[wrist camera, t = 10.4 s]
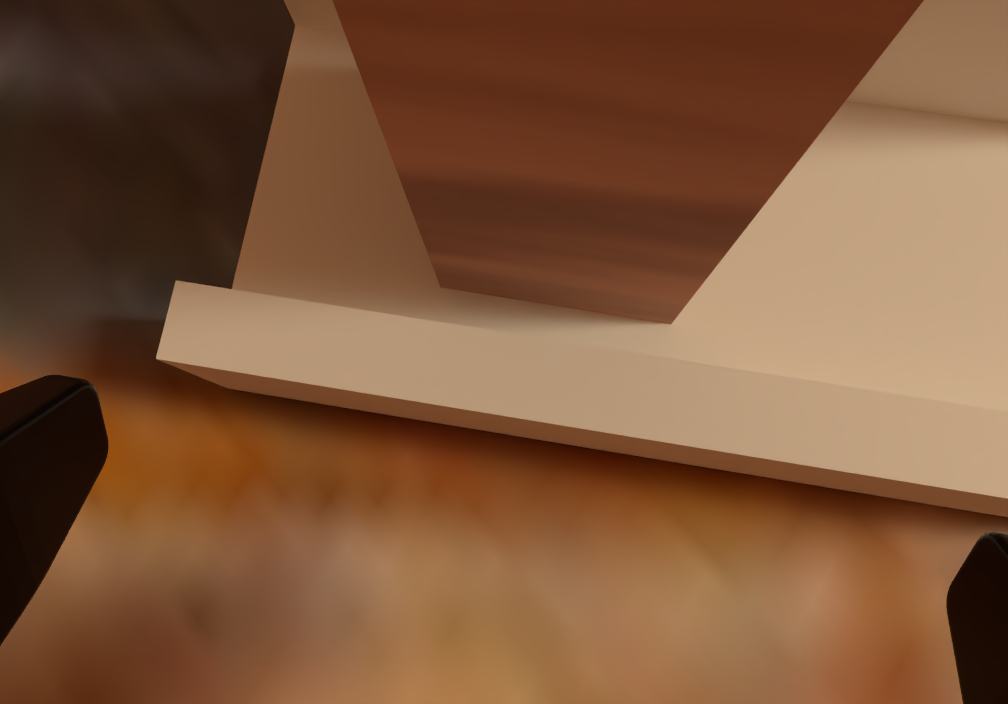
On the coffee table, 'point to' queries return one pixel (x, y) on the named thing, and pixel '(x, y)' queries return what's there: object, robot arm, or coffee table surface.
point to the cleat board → (704, 320)
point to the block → (603, 131)
